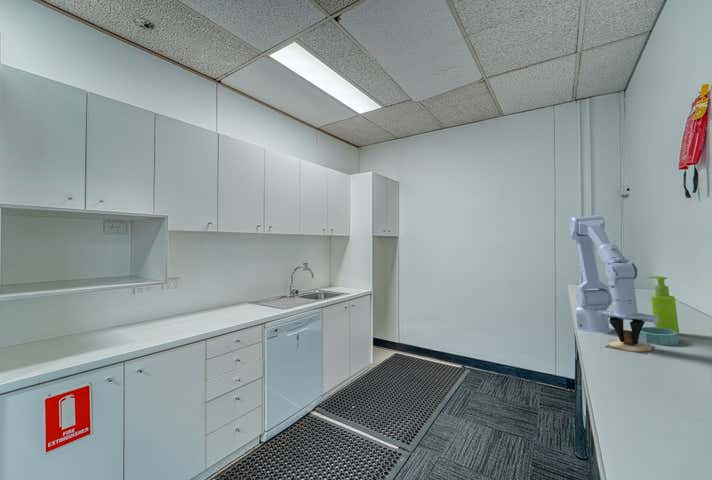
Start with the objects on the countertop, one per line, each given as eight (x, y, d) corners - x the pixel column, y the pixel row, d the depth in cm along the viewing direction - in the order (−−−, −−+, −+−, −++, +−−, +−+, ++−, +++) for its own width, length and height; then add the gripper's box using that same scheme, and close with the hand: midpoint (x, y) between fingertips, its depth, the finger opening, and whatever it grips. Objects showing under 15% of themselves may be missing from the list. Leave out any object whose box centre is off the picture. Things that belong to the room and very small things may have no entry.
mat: (604, 348, 97) (604, 347, 97) (615, 341, 103) (615, 339, 103) (646, 355, 89) (646, 354, 89) (655, 347, 95) (655, 346, 95)
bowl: (632, 342, 101) (631, 331, 101) (641, 335, 106) (640, 325, 106) (674, 348, 93) (673, 336, 93) (681, 340, 98) (680, 330, 98)
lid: (603, 347, 97) (601, 332, 97) (614, 339, 103) (612, 325, 103) (647, 354, 89) (645, 338, 89) (656, 346, 95) (654, 330, 95)
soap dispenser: (665, 330, 109) (659, 275, 110) (684, 335, 102) (677, 276, 103) (648, 331, 110) (641, 276, 111) (665, 336, 103) (658, 278, 104)
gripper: (592, 299, 100) (596, 340, 100) (651, 303, 88) (657, 350, 88) (599, 296, 104) (604, 336, 104) (657, 300, 92) (663, 344, 92)
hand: (629, 342), depth 96 cm, fingers closed on lid, 3 cm apart
